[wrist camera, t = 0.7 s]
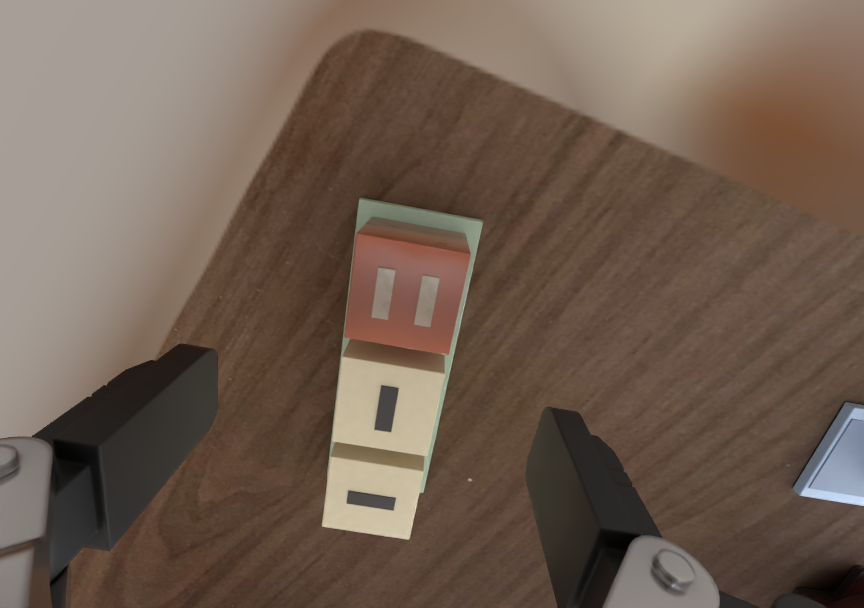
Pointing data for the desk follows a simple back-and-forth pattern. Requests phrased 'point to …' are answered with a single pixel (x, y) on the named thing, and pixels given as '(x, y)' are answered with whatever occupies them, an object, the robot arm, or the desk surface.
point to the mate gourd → (840, 592)
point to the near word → (388, 408)
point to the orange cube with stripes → (406, 285)
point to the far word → (838, 461)
